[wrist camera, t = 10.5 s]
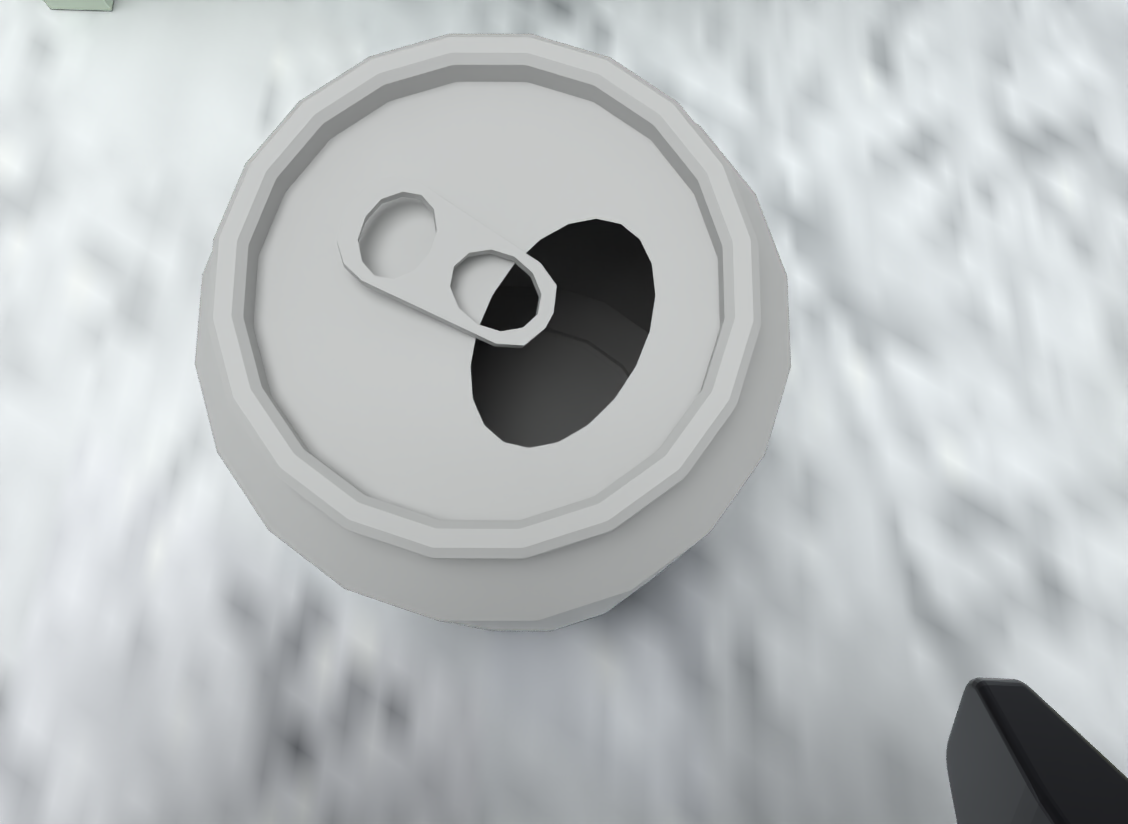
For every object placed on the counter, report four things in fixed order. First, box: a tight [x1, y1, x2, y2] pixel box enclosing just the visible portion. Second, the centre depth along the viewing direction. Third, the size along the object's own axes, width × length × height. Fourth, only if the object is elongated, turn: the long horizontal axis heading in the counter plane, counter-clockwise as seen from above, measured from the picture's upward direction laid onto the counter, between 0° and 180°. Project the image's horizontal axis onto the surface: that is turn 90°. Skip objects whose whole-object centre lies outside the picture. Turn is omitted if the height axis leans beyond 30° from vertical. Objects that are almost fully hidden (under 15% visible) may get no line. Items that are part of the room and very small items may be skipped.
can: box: [195, 34, 791, 631], centre depth 17 cm, size 8×8×12 cm
